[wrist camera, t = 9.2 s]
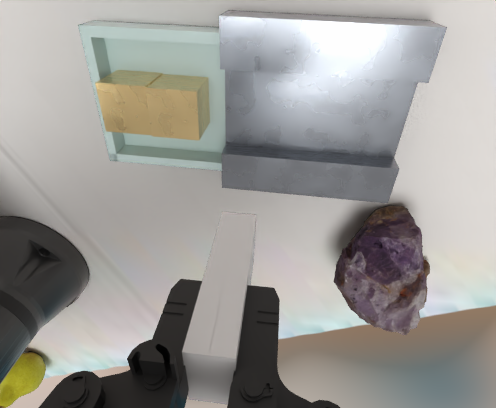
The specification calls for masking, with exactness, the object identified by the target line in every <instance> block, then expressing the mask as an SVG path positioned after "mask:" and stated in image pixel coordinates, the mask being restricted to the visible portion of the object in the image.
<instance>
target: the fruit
mask: <svg viewBox="0 0 496 408" xmlns="http://www.w3.org/2000/svg"><path fill="white" fill-rule="evenodd" d="M45 370H46V366H45V364H44V362H43V360H42V357H41V356H39V355H38V354H37V353H33V352H28V353H23V354H21V356H20V357H19V359H18V360H17V362H16V363H15V364H14V366H13V367H12V369H11V370H10V371H9V373H8V374H7V376H6V377H5V378H4V380H3V381H2V383H1V384H0V408H6V407H8V406H10V405H11V404H12V403H13V402H14V401H15V400H16V399H18V398H19V397H21V396H23V395H26V394H28V393H30V392H32V391H34V390H35V389H37V388H38V386H39V385H40V383H41V382H42V380H43V378H44V375H45Z"/></svg>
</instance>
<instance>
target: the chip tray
mask: <svg viewBox="0 0 496 408" xmlns="http://www.w3.org/2000/svg"><path fill="white" fill-rule="evenodd" d="M78 27H79V31H80V35H81V40H82V44H83V48H84V52H85V57H86V61H87V65H88V69H89V73H90V78H91V82H92V86H93V90H94V95H95V99H96V103H97V107H98V112H99V116H100V120H101V124H102V129H103V133H104V137H105V141H106V145H107V150H108V154H109V158H110V161H119V162H130V163H141V164H152V165H163V166H174V167H185V168H196V169H208V170H219V171H222V151H223V149H224V147H225V144H226V127H225V70H223V69H220V36H219V27H203V26H184V25H166V24H147V23H129V22H110V21H91V22H87V23H84V24H80V25H78ZM116 70H129V71H143V72H158V73H163V74H170V75H184V76H198V77H208V79H209V109H210V123H209V125H208V126H207V128H206V130H205V132H204V133H203V135H202V137H201V139H200V140H187V139H176V138H165V137H153V136H152V135H142V134H130V133H119V132H107V131H106V129H105V125H104V120H103V116H102V112H101V107H100V103H99V98H98V94H97V90H96V85H95V82H97V81H99V80H100V79H102V78H104V77H106V76H108V75H109V74H111V73H113V72H115V71H116Z"/></svg>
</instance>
